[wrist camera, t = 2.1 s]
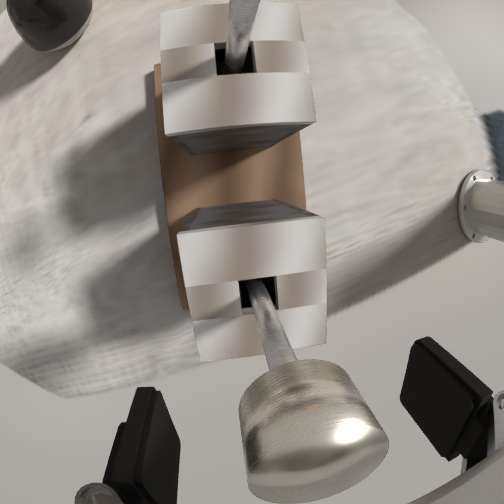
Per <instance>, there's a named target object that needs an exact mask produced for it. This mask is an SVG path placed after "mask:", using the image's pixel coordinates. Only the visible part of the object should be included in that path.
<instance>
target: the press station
mask: <svg viewBox="0 0 504 504" xmlns="http://www.w3.org/2000/svg"><path fill="white" fill-rule="evenodd" d="M229 5H230V3H228V4H214V5H204V6H195V7H187V8H180V9H174V10H168V11H162V12H160V50H161V64H156V65H154V79H155V100H156V117H157V130H158V142H159V153H160V164H161V173H162V182H163V190H164V198H165V206H166V213H167V221H168V227H169V234H170V241H171V247H172V253H173V259H174V265H175V271H176V276H177V282H178V287H179V292H180V297H181V302H182V307H183V309H190V314H191V319H192V324H193V329H194V334H195V338H196V343H197V348H198V352H199V356H200V361H201V362H206V361H215V360H224V359H233V358H240V357H247V356H255V355H262V354H265V352H264V349H263V345H262V341H261V338H260V334H259V330H258V327H257V323H256V319H255V315H254V312H253V308H252V304H251V303H250V304H242V305H241V300H240V292H239V284H238V281H240V280H248V279H255V278H263V277H270V276H274V282H275V295H276V300H271V301H272V303H273V305H274V308H275V310H276V312H277V314H278V317H279V319H280V321H281V324H282V326H283V328H284V331H285V333H286V335H287V338H288V340H289V342H290V344H291V347H292V349H298V348H303V347H309V346H315V345H319V344H325V343H326V331H327V330H326V329H327V275H326V240H325V218H324V217H321V216H319V215H316V214H314V213H311V212H308V211H306V200H305V187H304V175H303V163H302V153H301V143H300V133H299V131H300V130H302V129H303V128H305V127H307V126H309V125H311V124H313V123H314V122H316V115H315V107H314V99H313V92H312V85H311V78H310V71H309V65H308V59H307V53H306V47H305V41H304V36H303V31H302V25H301V20H300V15H299V10H298V6H297V4H290V3H259V7H258V11H257V14H256V18H255V22H254V26H253V29H252V33H251V37H250V41H249V45H248V49H247V51H252V57H253V65H254V73H245V74H231V75H219V76H217V74H216V62H215V54H217V53H226V40H227V27H228V16H229Z"/></svg>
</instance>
